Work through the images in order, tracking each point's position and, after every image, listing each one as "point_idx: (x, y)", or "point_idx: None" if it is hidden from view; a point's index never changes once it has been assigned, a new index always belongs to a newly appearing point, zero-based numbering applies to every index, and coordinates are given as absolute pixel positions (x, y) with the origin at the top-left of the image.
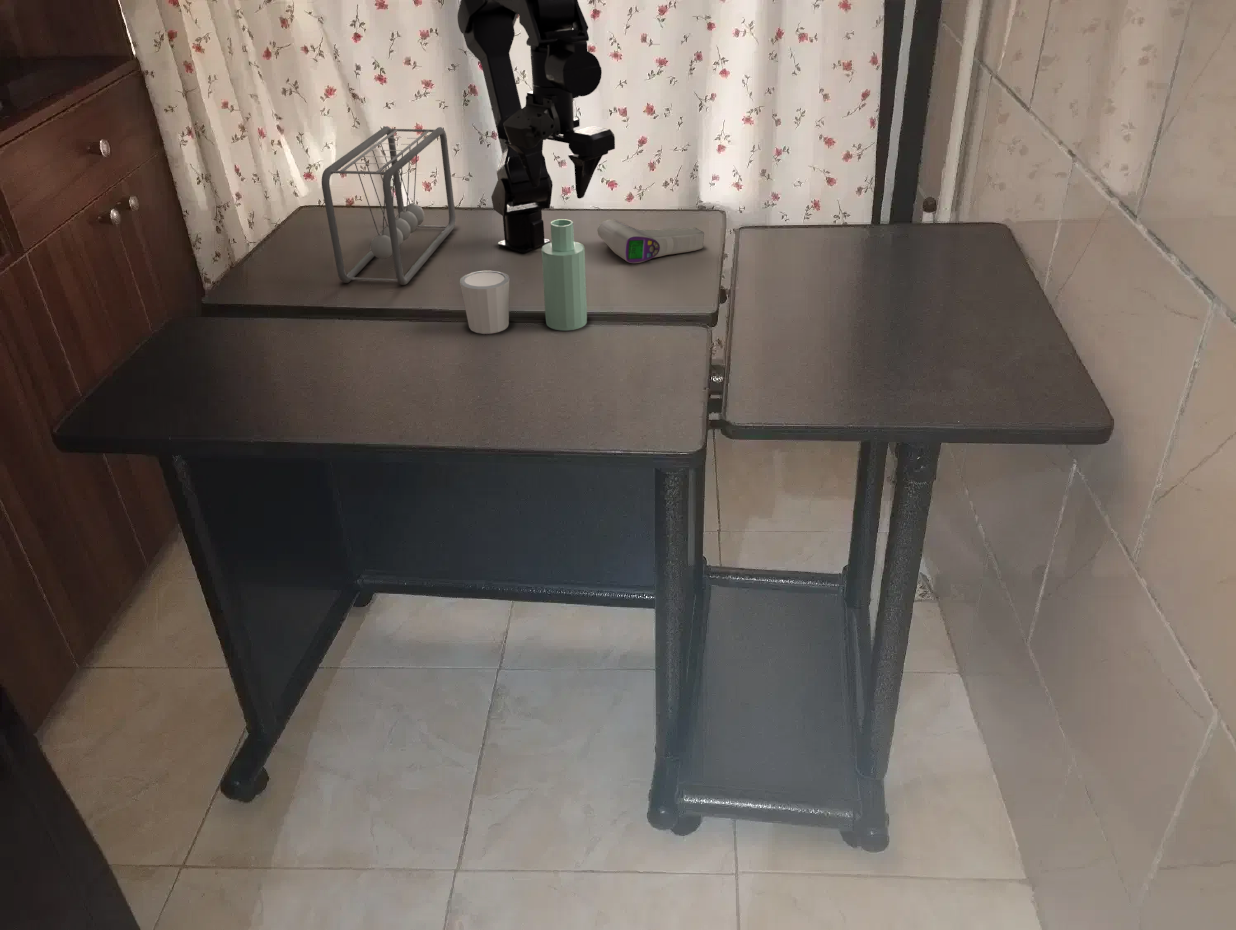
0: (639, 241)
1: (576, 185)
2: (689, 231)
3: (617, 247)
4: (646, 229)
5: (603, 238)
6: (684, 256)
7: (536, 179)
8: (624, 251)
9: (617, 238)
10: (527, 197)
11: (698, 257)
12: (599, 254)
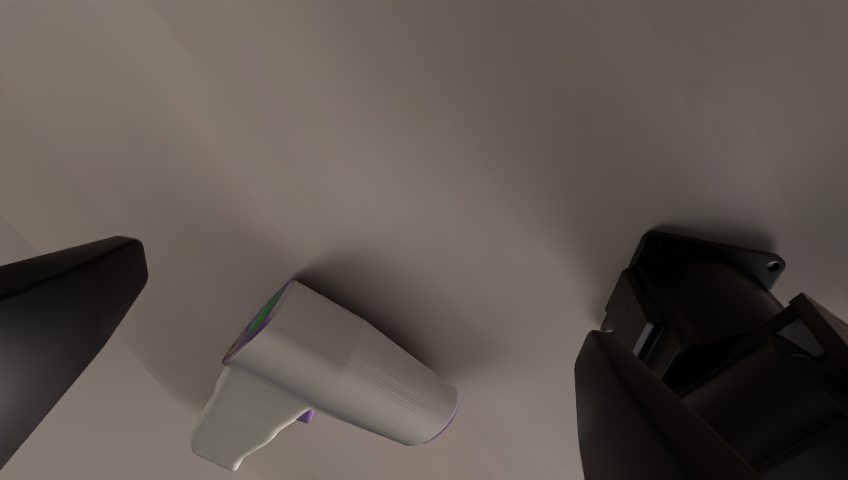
0: (246, 337)
1: (28, 276)
2: (215, 445)
3: (330, 317)
4: (293, 416)
5: (421, 369)
6: (215, 367)
7: (592, 397)
8: (288, 296)
9: (325, 340)
10: (707, 392)
11: (185, 372)
12: (413, 311)
